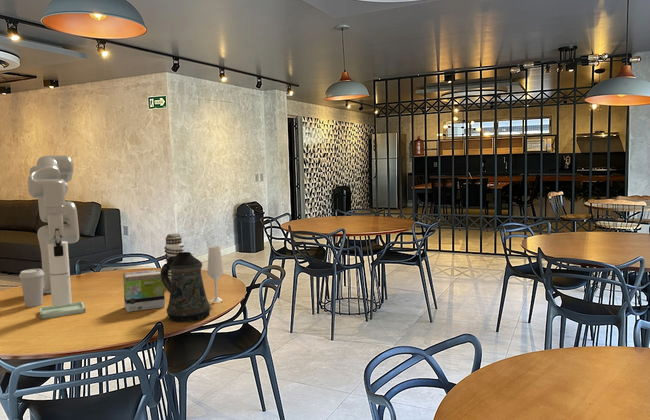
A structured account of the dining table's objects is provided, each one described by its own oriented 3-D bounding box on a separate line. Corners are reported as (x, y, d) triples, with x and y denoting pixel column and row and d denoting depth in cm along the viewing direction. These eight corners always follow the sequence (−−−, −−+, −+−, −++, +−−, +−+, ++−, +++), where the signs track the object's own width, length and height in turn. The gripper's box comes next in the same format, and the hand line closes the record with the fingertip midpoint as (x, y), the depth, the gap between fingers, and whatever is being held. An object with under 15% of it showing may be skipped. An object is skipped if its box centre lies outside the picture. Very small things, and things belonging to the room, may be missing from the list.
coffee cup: (35, 308, 210) (32, 273, 208) (15, 307, 212) (12, 273, 210) (51, 302, 219) (49, 268, 218) (33, 301, 221) (30, 268, 220)
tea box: (127, 313, 201) (124, 277, 200) (124, 307, 210) (122, 272, 209) (165, 307, 208) (163, 272, 207) (161, 301, 217) (159, 268, 215)
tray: (39, 311, 205) (39, 307, 205) (82, 305, 213) (82, 301, 213) (40, 319, 195) (40, 314, 195) (85, 312, 203) (85, 308, 203)
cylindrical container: (48, 304, 202) (43, 243, 199) (63, 300, 209) (58, 241, 206) (60, 306, 199) (56, 244, 197) (75, 301, 206) (71, 241, 203)
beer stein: (207, 321, 188) (204, 256, 186) (154, 324, 187) (150, 258, 184) (213, 308, 205) (210, 248, 202) (164, 311, 203) (161, 250, 201)
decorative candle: (177, 280, 254) (175, 232, 252) (189, 283, 249) (187, 233, 246) (162, 284, 247) (159, 234, 244) (174, 287, 242) (171, 236, 239)
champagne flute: (220, 304, 211) (218, 248, 209) (206, 303, 213) (203, 247, 210) (227, 299, 218) (224, 245, 216) (212, 299, 219) (210, 245, 217)
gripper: (44, 209, 206) (47, 252, 207) (45, 213, 191) (48, 259, 193) (64, 208, 209) (67, 250, 211) (67, 211, 195) (70, 256, 196)
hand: (58, 254), depth 202 cm, fingers closed on cylindrical container, 7 cm apart
